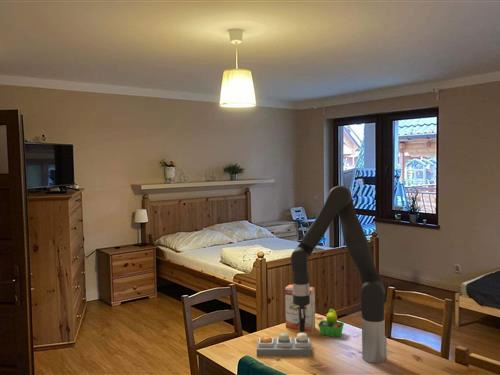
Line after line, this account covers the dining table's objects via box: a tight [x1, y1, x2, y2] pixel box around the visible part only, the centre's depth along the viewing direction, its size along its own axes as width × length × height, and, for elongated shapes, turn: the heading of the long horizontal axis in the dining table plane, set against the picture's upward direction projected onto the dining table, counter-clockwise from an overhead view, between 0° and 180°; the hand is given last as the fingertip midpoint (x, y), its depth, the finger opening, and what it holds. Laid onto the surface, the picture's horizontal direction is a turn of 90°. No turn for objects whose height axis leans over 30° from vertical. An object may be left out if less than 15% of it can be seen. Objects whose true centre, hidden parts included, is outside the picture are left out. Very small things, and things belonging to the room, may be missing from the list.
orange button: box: [260, 335, 272, 343], centre depth 197 cm, size 4×4×2 cm
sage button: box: [278, 332, 290, 341], centre depth 197 cm, size 4×4×2 cm
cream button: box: [296, 332, 308, 341], centre depth 196 cm, size 4×4×2 cm
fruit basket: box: [318, 308, 345, 338], centre depth 215 cm, size 11×9×11 cm
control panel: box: [256, 337, 313, 357], centre depth 197 cm, size 24×12×4 cm, turn 87°
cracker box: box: [284, 284, 316, 332], centre depth 223 cm, size 14×6×21 cm, turn 62°
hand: (302, 331), depth 196 cm, fingers closed
